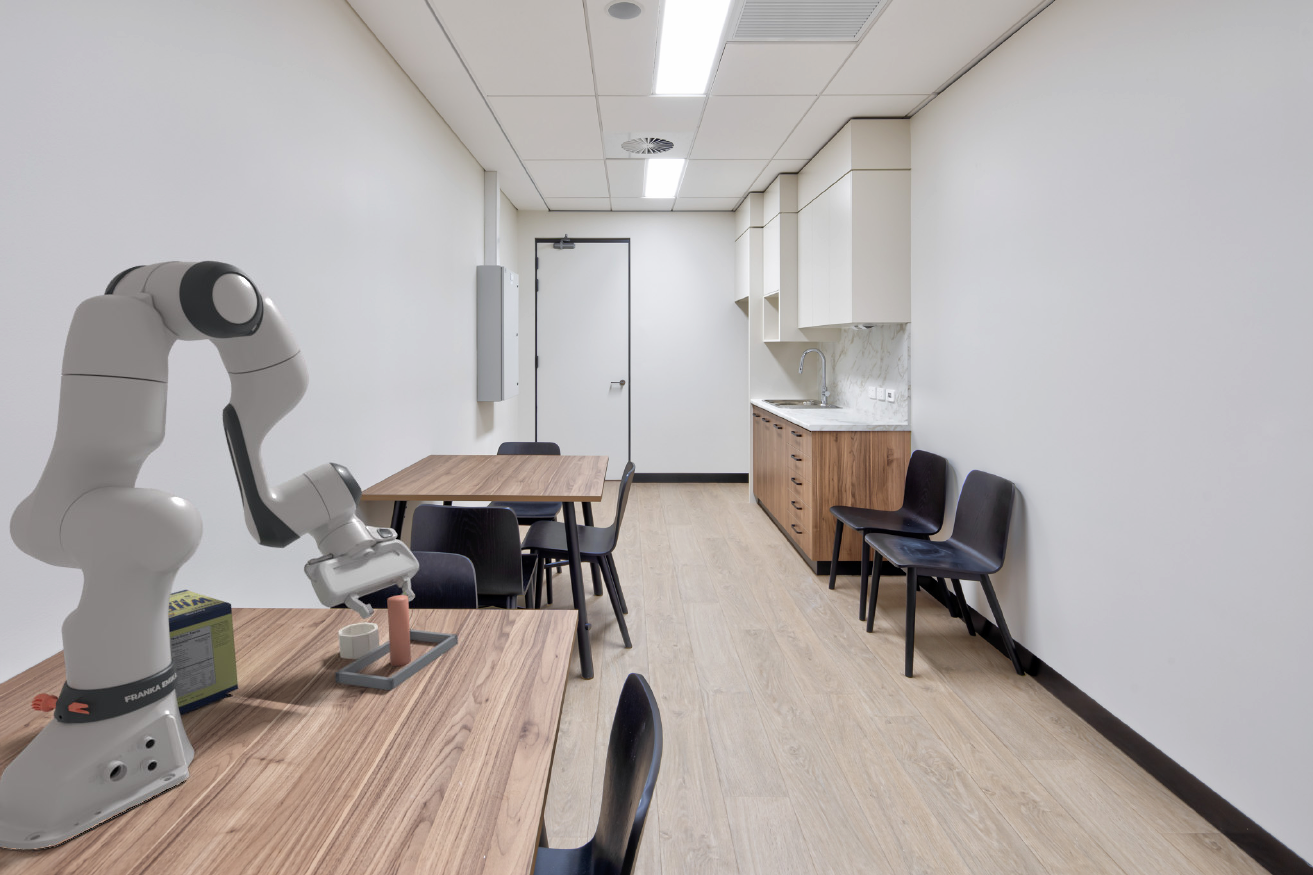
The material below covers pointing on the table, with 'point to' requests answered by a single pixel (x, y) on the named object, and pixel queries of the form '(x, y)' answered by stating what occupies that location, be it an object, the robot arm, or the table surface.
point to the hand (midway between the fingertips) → (390, 607)
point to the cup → (358, 640)
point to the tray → (353, 678)
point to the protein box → (201, 649)
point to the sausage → (399, 630)
